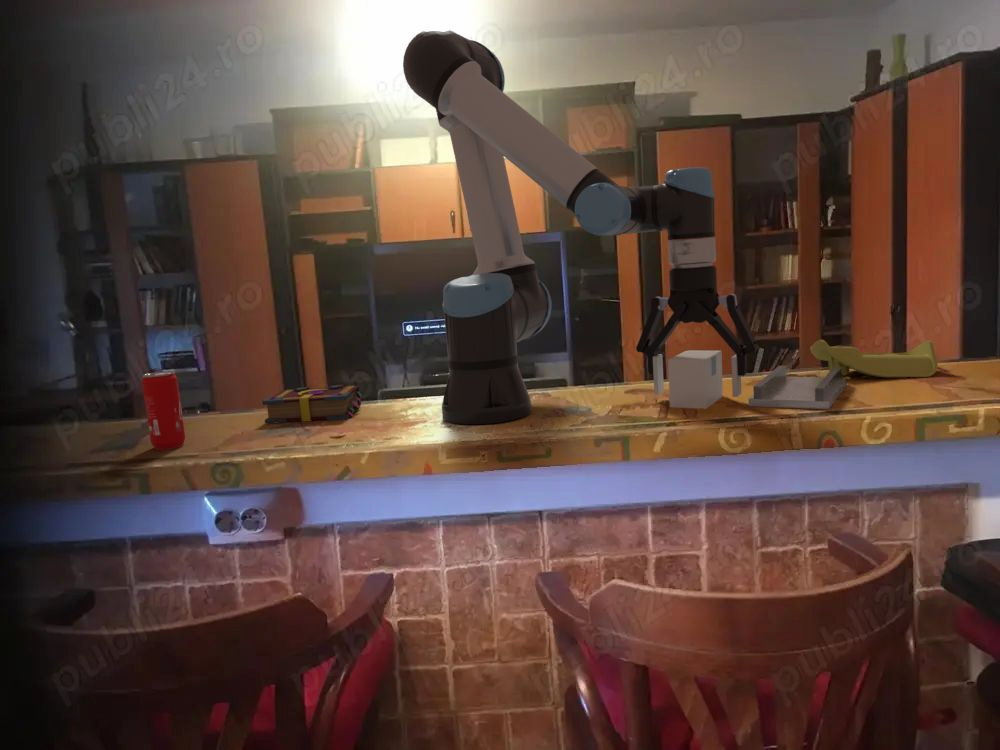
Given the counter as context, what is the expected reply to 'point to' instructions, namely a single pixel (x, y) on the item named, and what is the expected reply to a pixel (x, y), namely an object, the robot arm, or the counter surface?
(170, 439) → the beverage can
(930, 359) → the plastic component
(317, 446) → the counter surface
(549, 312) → the robot arm
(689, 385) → the block
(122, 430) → the counter surface
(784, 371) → the grey channel bracket
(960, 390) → the counter surface
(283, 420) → the decorative book
